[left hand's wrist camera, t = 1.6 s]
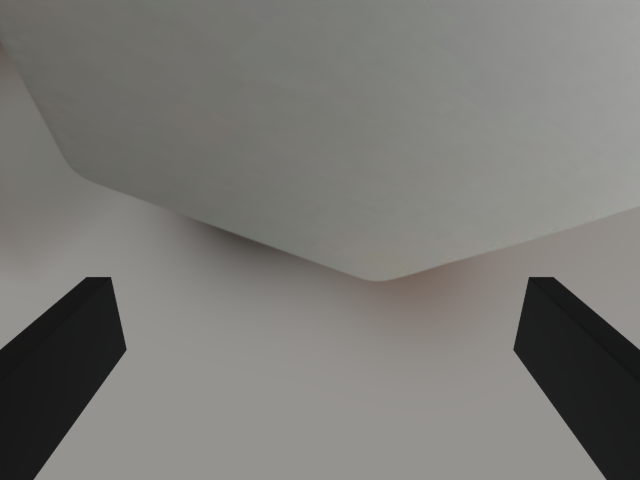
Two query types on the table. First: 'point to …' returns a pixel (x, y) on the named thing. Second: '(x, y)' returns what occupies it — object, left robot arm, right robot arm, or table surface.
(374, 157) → the table surface
